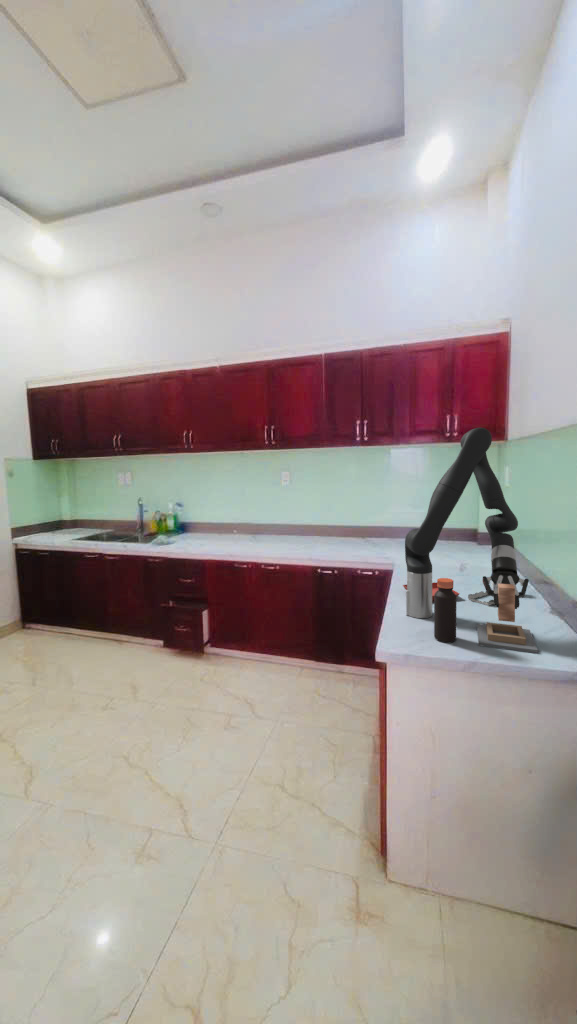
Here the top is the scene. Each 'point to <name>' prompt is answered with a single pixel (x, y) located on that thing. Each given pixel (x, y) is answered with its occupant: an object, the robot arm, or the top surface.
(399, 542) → the top surface
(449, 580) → the bottle
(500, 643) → the socket dock
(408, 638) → the top surface
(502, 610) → the terracotta post
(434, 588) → the plant saucer
